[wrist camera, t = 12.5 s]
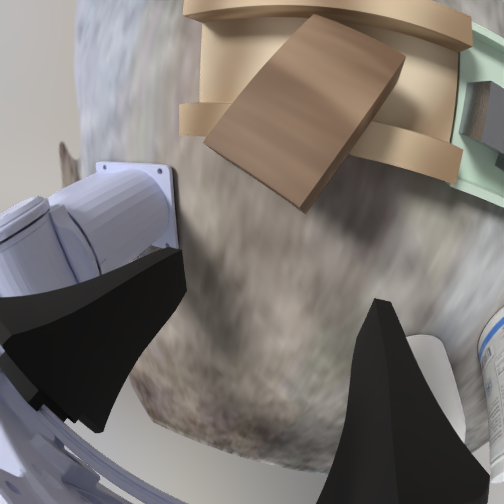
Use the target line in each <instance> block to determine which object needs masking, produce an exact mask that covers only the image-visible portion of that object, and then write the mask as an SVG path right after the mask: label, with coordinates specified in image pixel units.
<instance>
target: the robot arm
mask: <svg viewBox="0 0 504 504" xmlns="http://www.w3.org/2000/svg"><path fill="white" fill-rule="evenodd" d="M160 169H162V172H161V171H160ZM96 172H97V173H95V174H92V175H90V176H88V177H86V178H84V179H82V180H80V181H77V182H75V183H73V184H71V185H69V186H67V187H65V188H63V189H61V190H59V191H58V192H56V193H54V194H53V195H51V196H50V197H49V198H48V199H46V198H44V199H43V197H40V196H34V197H31V198H29V199H27V200H25V201H23V202H21V203H19V204H17V205H15V206H13V207H11V208H10V209H8V210H6V211H5V212H3V213H2V214H0V504H132V503H131V502H129V501H127V500H125V499H124V498H122V497H121V496H119V495H117V494H115V493H114V492H112V491H111V490H109V489H108V488H106V487H105V486H103V485H101V484H100V483H99V482H98V481H99V480H100V476H99V475H98V474H97V473H96V472H95V471H97V472H98V473H99V474H101V475H102V476H103V477H105V478H106V479H108V480H109V481H110V482H112V483H114V484H115V485H116V486H118V487H119V488H121V489H122V490H124V491H126V492H127V493H128V494H130V495H132V496H133V497H135V498H137V499H138V500H140V501H142V502H143V503H145V504H187V503H185V502H183V501H181V500H179V499H177V498H175V497H173V496H170V495H169V494H167V493H165V492H163V491H161V490H159V489H157V488H155V487H153V486H151V485H150V484H148V483H146V482H144V481H143V480H141V479H139V478H138V477H136V476H134V475H133V474H131V473H129V472H128V471H126V470H125V469H123V468H122V467H120V466H119V465H117V464H116V463H114V462H113V461H111V460H110V459H109V458H107V457H106V456H104V455H103V454H102V453H100V452H99V451H98V450H96V449H95V448H94V447H92V446H91V445H90V444H89V443H87V442H86V441H85V440H83V439H82V438H81V437H80V436H79V435H77V434H76V433H75V432H74V431H73V430H72V429H70V427H68V426H67V425H66V424H65V423H64V421H65V420H66V419H67V418H68V419H70V420H71V421H72V422H73V423H76V421H77V420H80V422H82V423H83V424H84V425H85V426H87V427H88V428H89V429H90V430H92V431H93V432H94V433H101V432H103V431H104V428H105V425H106V422H107V419H108V417H109V414H110V412H111V409H112V407H113V405H114V403H115V400H116V398H117V396H118V394H119V392H120V390H121V388H122V386H123V384H124V382H125V381H126V379H127V377H128V375H129V373H130V372H131V370H132V368H133V367H134V365H135V363H136V362H137V360H138V358H139V357H140V355H141V354H142V352H143V351H144V350H145V348H146V347H147V346H148V345H149V343H150V342H151V341H152V339H153V338H154V337H155V336H156V334H157V333H158V332H159V331H160V329H161V328H162V327H163V326H164V324H165V323H166V322H167V321H168V319H169V318H170V317H171V315H172V314H173V313H174V312H175V310H176V308H177V307H178V305H179V304H180V302H181V300H182V298H183V297H184V295H185V293H186V291H187V288H186V280H185V273H184V264H183V256H182V250H180V249H178V248H179V245H178V235H177V226H176V215H175V203H174V190H173V175H172V168H171V167H170V166H169V165H163V164H149V163H131V162H103V161H100V162H98V163H96ZM168 244H169V245H170V246H169V245H168ZM150 245H152V246H156V247H159V248H163V249H161V250H158V251H156V252H154V253H151V254H149V255H147V256H144V257H142V258H140V259H137V260H135V261H133V262H131V261H132V260H134V259H135V258H136V257H137V256H138V255H139V254H141V253H142V252H143V251H144V250H145V249H147V248H148V247H149V246H150ZM130 262H131V263H130ZM64 445H65V446H67V447H68V448H69V449H70V450H71V451H72V452H73V453H74V454H76V455H77V456H78V457H79V458H80V459H81V460H80V459H79V458H77V457H75V456H74V455H73V454H71V453H69V452H68V451H67V450H65V449H64ZM82 460H83V461H84V462H85V463H84V462H83V461H82ZM87 464H88V465H89V466H88V465H87ZM92 468H93V469H94V470H95V471H94V470H93V469H92ZM489 482H490V475H489V474H488V473H487V472H486V470H485V469H484V468H483V467H482V466H481V464H480V463H479V462H478V461H477V460H476V459H475V457H474V456H473V455H472V454H471V452H470V451H469V449H468V448H467V447H466V445H465V444H464V443H463V441H462V440H461V439H460V437H459V436H458V434H457V433H456V431H455V430H454V428H453V427H452V425H451V423H450V422H449V420H448V419H447V417H446V415H445V414H444V412H443V411H442V409H441V407H440V406H439V404H438V402H437V400H436V398H435V396H434V395H433V393H432V391H431V389H430V387H429V386H428V384H427V382H426V380H425V378H424V376H423V374H422V371H421V369H420V367H419V365H418V363H417V361H416V359H415V357H414V354H413V352H412V350H411V347H410V345H409V343H408V341H407V338H406V336H405V334H404V331H403V329H402V327H401V324H400V322H399V320H398V317H397V315H396V313H395V310H394V308H393V306H392V304H391V302H389V301H385V300H380V299H376V298H374V300H373V303H372V305H371V307H370V310H369V312H368V314H367V317H366V319H365V321H364V323H363V325H362V328H361V330H360V332H359V334H358V336H357V339H356V344H355V349H354V355H353V360H352V367H351V377H350V387H349V396H348V404H347V412H346V418H345V423H344V428H343V432H342V435H341V439H340V442H339V446H338V449H337V452H336V455H335V458H334V461H333V464H332V467H331V470H330V472H329V475H328V478H327V480H326V482H325V485H324V487H323V490H322V492H321V494H320V496H319V498H318V501H317V503H316V504H487V503H488V494H489Z"/></svg>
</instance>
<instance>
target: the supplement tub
mask: <svg viewBox="0 0 504 504" xmlns="http://www.w3.org/2000/svg"><path fill="white" fill-rule="evenodd" d="M478 355H479V359H480V365H481V370H482V375H483V381H484V387H485V394H486V402H487V411H488V423H489V442H490V470H491V483H499V482H504V306H503V307H502V308H501V309H500V310H499V311H498V312H497V313H496V314H495V315H494V316H493V317H492V318H491V319H490V321H489V322H488V323H487V325H486V327H485V328H484V330H483V332H482V334H481V336H480V340H479V344H478Z"/></svg>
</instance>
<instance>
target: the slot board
mask: <svg viewBox="0 0 504 504" xmlns="http://www.w3.org/2000/svg"><path fill="white" fill-rule="evenodd" d="M313 14H316V15H319V16H321V17H324V18H327V19H330V20H332V21H335V22H338V23H340V24H343V25H345V26H347V27H350V28H352V29H354V30H357V31H359V32H361V33H363V34H365V35H368V36H370V37H372V38H374V39H376V40H378V41H380V42H382V43H384V44H386V45H387V46H389V47H391V48H393V49H395V50H397V51H398V52H400V53H402V54H403V55H405V56H406V58H405V62H404V65H403V68H402V71H401V74H400V77H399V79H398V82H397V84H396V85H395V87H394V88H393V90H392V91H391V93H390V94H389V96H388V97H387V99H386V100H385V102H384V103H383V105H382V106H381V108H380V109H379V111H378V112H377V113H376V115H375V116H374V118H373V119H372V121H371V122H370V124H369V125H368V127H367V128H366V129H365V131H364V132H363V134H362V135H361V137H360V138H359V140H358V141H357V142H356V144H355V145H354V147H353V148H352V150H351V151H350V152H349V154H348V155H352V156H356V157H361V158H365V159H369V160H374V161H378V162H382V163H386V164H389V165H393V166H397V167H401V168H404V169H408V170H411V171H415V172H418V173H421V174H424V175H428V176H431V177H434V178H437V179H440V180H443V181H446V182H449V183H452V184H454V185H455V184H456V180H457V176H458V172H459V168H460V163H461V159H462V154H463V149H461V148H459V147H457V146H455V145H453V144H451V143H449V142H450V136H451V130H452V124H453V117H454V109H455V100H456V89H457V74H458V53H459V52H461V51H464V50H466V49H469V48H471V47H473V35H472V20H471V17H470V16H468V15H466V14H464V13H461V12H459V11H457V10H455V9H452V8H450V7H447V6H445V5H442V4H439V3H437V2H434V1H431V0H184V7H183V16H185V17H188V18H191V19H194V20H197V21H199V22H202V23H203V27H202V44H201V66H200V102H198V103H187V104H179V131H180V136H206V137H207V136H208V135H209V133H210V132H211V131H212V129H213V128H214V126H215V125H216V124H217V122H218V121H219V120H220V118H221V117H222V116H223V115H224V113H225V112H226V111H227V109H228V108H229V107H230V106H231V104H232V103H233V102H234V100H235V99H236V98H237V97H238V95H239V94H240V93H241V92H242V91H243V89H244V88H245V87H246V86H247V85H248V83H249V82H250V81H251V80H252V79H253V77H254V76H255V75H256V74H257V73H258V72H259V70H260V69H261V68H262V67H263V66H264V65H265V64H266V63H267V61H268V60H269V59H270V58H271V57H272V56H273V55H274V54H275V53H276V52H277V50H278V49H279V48H280V47H281V46H282V45H283V44H284V43H285V42H286V41H287V40H288V39H289V38H290V37H291V36H292V35H293V34H294V33H295V32H296V31H297V30H298V29H299V28H300V27H301V26H302V25H303V24H304V23H305V22H306V21H307V20H308V19H309V18H310V17H311V16H312V15H313Z"/></svg>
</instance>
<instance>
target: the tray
mask: <svg viewBox="0 0 504 504" xmlns="http://www.w3.org/2000/svg"><path fill="white" fill-rule="evenodd" d="M472 35H473V47H471V48H469V49H466V50H464V51H461V52H459V53H458V78H457V91H456V102H455V110H454V118H453V125H452V131H451V137H450V143H451V144H453V145H455V146H457V147H459V148H461V149H463V154H462V159H461V163H460V168H459V172H458V176H457V180H456V184H455V185H454V184H452V183H449V182H446V181H445V182H446V183H447V184H448V185H449V186H450V187H453V188H455V189H458V190H461V191H464V192H466V193H469V194H472V195H474V196H477V197H479V198H482V199H484V200H487V201H489V202H491V203H494V204H496V205H498V206H501V207H503V208H504V172H503V171H502V170H500V169H499V168H498V167H496V166H495V163H496V160H497V157H498V153H496V152H495V151H493V150H491V149H489V148H487V147H486V146H484V145H482V144H480V143H478V142H476V141H474V140H472V139H470V138H468V137H466V136H464V135H462V134H460V133H458V132H459V127H460V122H461V117H462V112H463V106H464V100H465V93H466V86H467V83H470V82H479V81H493V82H494V83H496V84H498V85H499V86H501V87H502V88H504V39H503V38H502V37H500V36H498V35H496V34H495V33H493V32H491V31H489V30H487V29H485V28H484V27H482V26H480V25H478V24H476V23H474V22H472Z"/></svg>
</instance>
